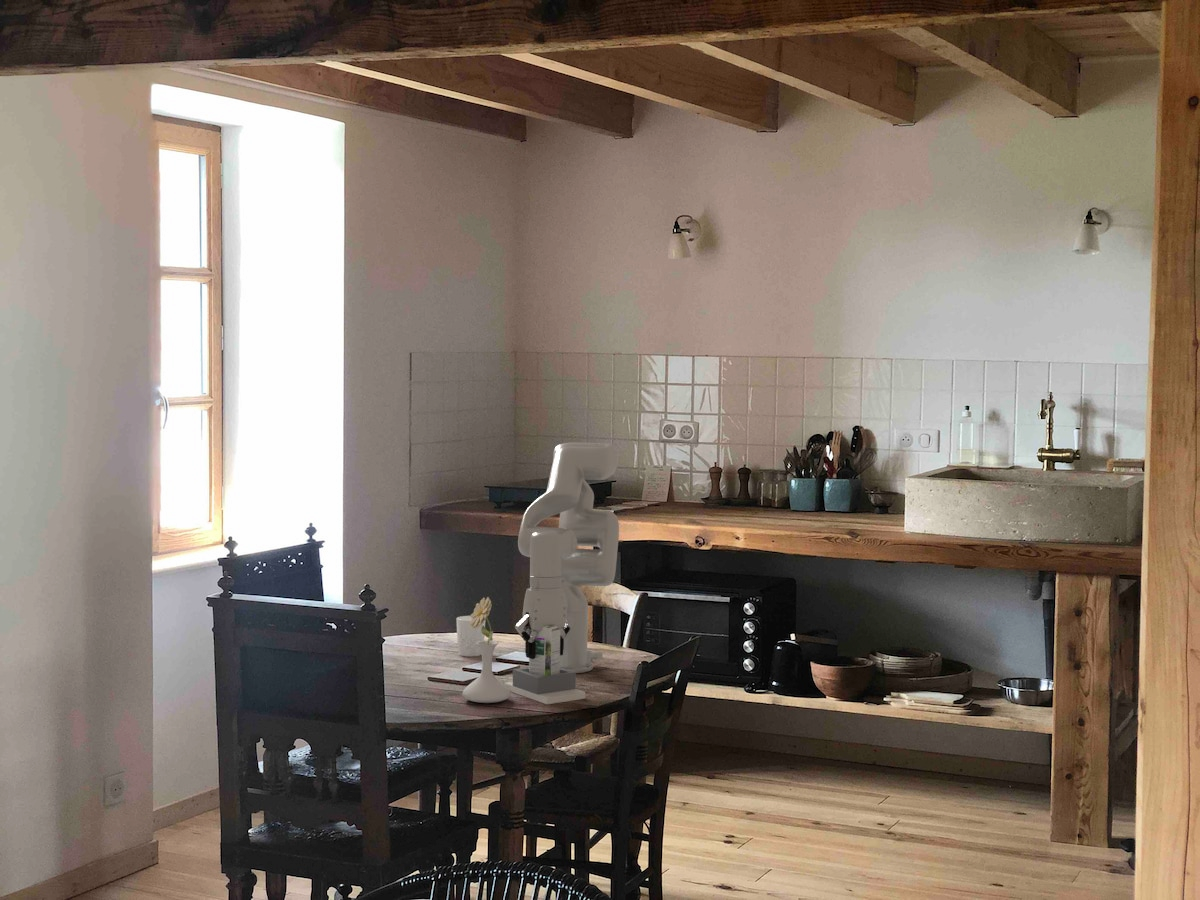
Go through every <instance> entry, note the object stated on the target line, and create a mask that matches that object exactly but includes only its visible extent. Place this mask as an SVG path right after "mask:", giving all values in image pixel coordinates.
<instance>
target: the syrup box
mask: <svg viewBox="0 0 1200 900" xmlns="http://www.w3.org/2000/svg"><path fill="white" fill-rule="evenodd" d="M530 628H531V626H530ZM533 642H535V644H536V648H535V659H530V658H528V659H529V661H528V667H529V673H531V674H534V675H537V676H545V675H552V674H559V673H560V629H558V628H557V625H552V626H546V627H543V629H542V631H539V632H537V634H536V636H535V639H534V641H533Z"/></svg>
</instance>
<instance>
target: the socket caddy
mask: <svg viewBox="0 0 1200 900" xmlns="http://www.w3.org/2000/svg"><path fill="white" fill-rule="evenodd" d="M576 676H577V673H576V672H572V671H569V670H566V669H563V668H560V673H559V674H552V675H545V676H537V675H534V674H531V673H529V666H528V667H521V668H513V669H512V681H507V682H503V684H504V685H505V686H506V687H507V688H508V689H509V690H510V692H511V693H514V694H517V695H520V696H522V697H525V698H528V699H530V700H533V701H536V702H539V703H542V704H544V705H551V704H558V703H559V704H560V703H565V702H570V701H578V700H584V699H586V692H585V691H582V690H580V689H577V688H576V685H577V683H576V682H577V681H576V678H577V677H576Z"/></svg>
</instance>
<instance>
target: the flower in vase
mask: <svg viewBox="0 0 1200 900" xmlns="http://www.w3.org/2000/svg"><path fill="white" fill-rule="evenodd" d="M492 605H493V604H492V601H491V598H490V597H489V596H487V597H483V598H481V600H479V603H478V602H477V603H476V604H475V607H474V609H473V613H471V614H470V616H471V618H473V619H472V620H471V621H470V625H472V628H476V627H477V626H478V627H479V626H480V625H482V624H483V622H484V621H485V622H486V621H487V624H488V627H489V630H488V629H487V628H486V626H485V627H484V626H482V628H481V632H482V634H484V637H486V638H488V639H487V640H484V641H479V642H477V645H478V646H479V648H480V650H481V655H480V656H481V665H482V666H481V672H480V675H478V677H476V679H474V680H472V682H470V683H469V684H468V685H467V686H466V687H465V688H464V689H463V691H462V697H463V698H464V699H466V700H467V701H470V702H475V703H480V704H490V703H491V704H492V703H499V702H503V701H505V700H507V699H510V697H511V696H512V692H511V691H510V690H509V689H508V688H507V687H506V686H505V685H504V682H502V681H501V680H500V679H498V678H497V677H496V676H495V674H494V672H493V664H492V663H493V655H494V651H495V649H496V647H497V645H498V643H499V642H497V641H495V640H493V634H494V630H492V626H491V623H490V621H489V618H488V616H489V615H490V612H491V609H492V607H493V606H492Z"/></svg>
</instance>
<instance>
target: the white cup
mask: <svg viewBox="0 0 1200 900" xmlns="http://www.w3.org/2000/svg"><path fill="white" fill-rule="evenodd" d="M472 619H473V618H471V615H462V616H458V617H456V637H457V638H456V639H457V651H458V652H457V653H458V656H460V657H461V656H462V657H471V658H472V657H480V656H482V655H481V650H480V648H479V646H478V645H477V642H479V641H485V635H484V634H482V632H481V628H482V626H484V627H485V628H486V620H485V621H484V622H483V624H482V625H480V626H479V627H478V626H477V627H476V628H472V625H470V621H471V620H472Z"/></svg>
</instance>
